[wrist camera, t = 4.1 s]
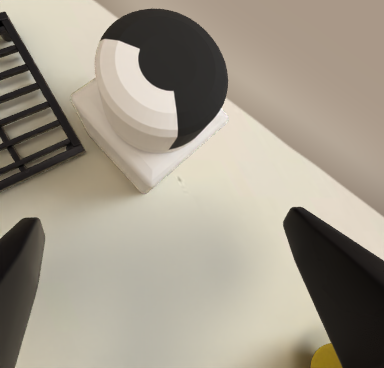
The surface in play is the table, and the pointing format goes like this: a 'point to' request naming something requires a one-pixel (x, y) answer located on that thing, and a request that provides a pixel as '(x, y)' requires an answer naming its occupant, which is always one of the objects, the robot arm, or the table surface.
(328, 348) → the lemon
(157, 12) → the medicine bottle
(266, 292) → the table surface
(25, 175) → the wire rack
